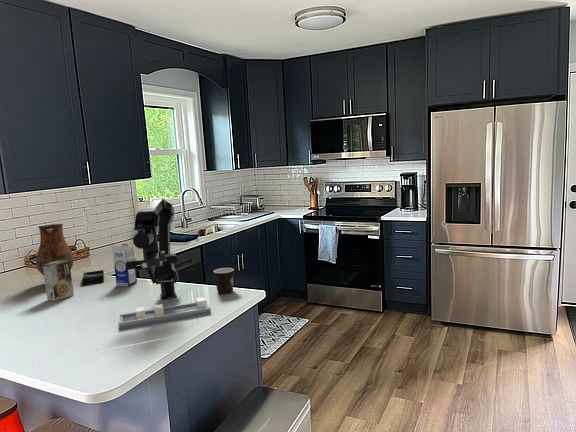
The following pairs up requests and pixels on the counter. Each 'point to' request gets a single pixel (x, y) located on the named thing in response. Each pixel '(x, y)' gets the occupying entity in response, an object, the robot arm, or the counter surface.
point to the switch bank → (169, 315)
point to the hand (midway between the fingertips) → (154, 283)
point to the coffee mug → (224, 280)
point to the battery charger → (93, 277)
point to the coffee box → (58, 280)
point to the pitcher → (52, 246)
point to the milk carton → (123, 265)
